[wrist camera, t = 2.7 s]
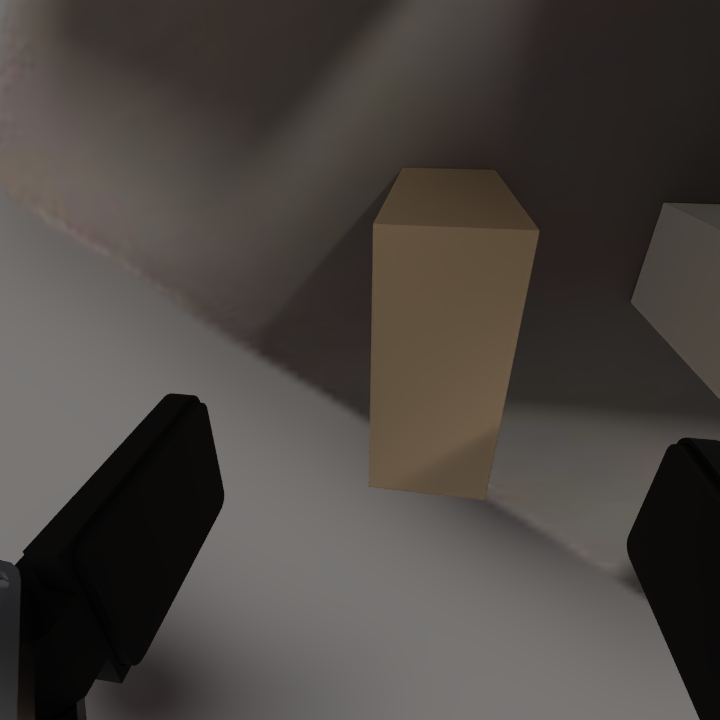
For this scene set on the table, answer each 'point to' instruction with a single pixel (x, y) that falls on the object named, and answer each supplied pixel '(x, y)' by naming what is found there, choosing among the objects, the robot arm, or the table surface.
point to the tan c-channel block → (444, 327)
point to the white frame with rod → (685, 286)
